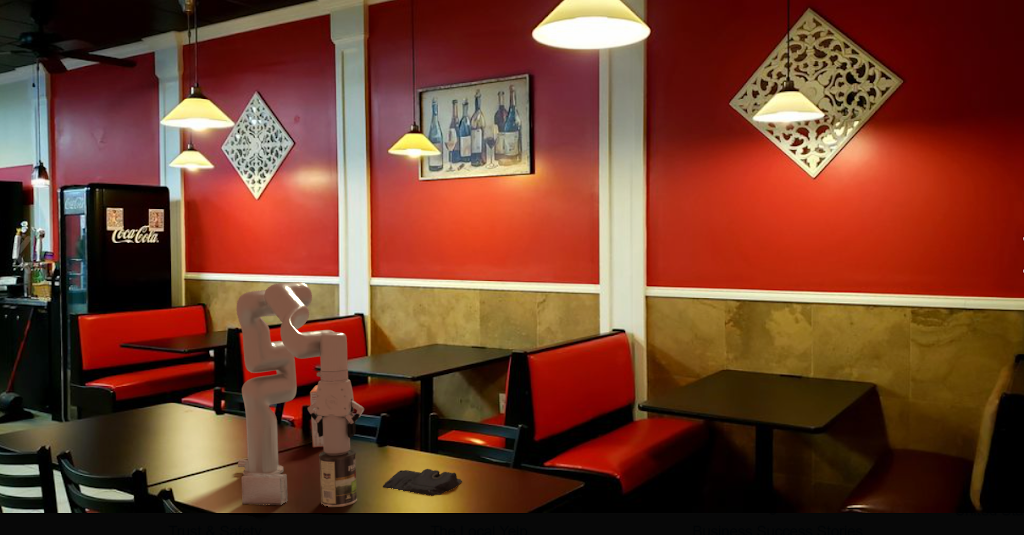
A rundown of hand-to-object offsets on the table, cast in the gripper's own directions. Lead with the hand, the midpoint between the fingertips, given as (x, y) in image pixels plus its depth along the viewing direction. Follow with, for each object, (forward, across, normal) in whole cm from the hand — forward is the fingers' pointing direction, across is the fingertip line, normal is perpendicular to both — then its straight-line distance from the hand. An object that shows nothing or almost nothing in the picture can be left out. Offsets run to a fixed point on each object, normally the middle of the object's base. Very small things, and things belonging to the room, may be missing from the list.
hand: (336, 435), depth 229 cm
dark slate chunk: (+20, +20, +18) cm, 33 cm away
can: (+5, 0, 0) cm, 5 cm away
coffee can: (+19, 0, 0) cm, 19 cm away
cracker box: (+19, -35, +64) cm, 75 cm away
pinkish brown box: (+19, -21, -4) cm, 29 cm away
